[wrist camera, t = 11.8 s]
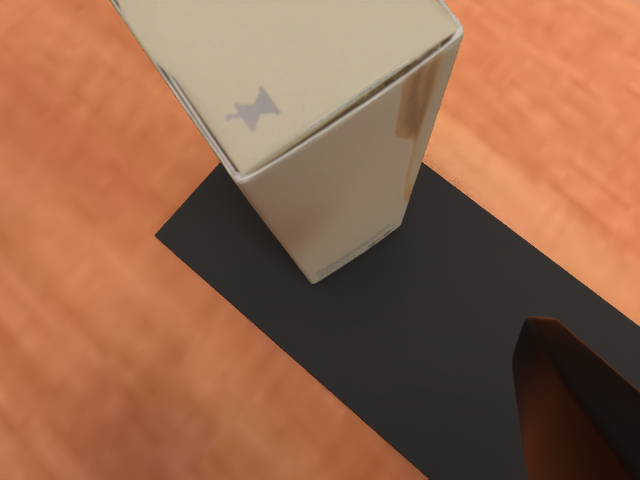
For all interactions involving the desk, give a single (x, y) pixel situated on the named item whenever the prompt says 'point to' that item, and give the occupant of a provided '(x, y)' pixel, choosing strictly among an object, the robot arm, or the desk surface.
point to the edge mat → (407, 318)
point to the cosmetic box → (309, 106)
